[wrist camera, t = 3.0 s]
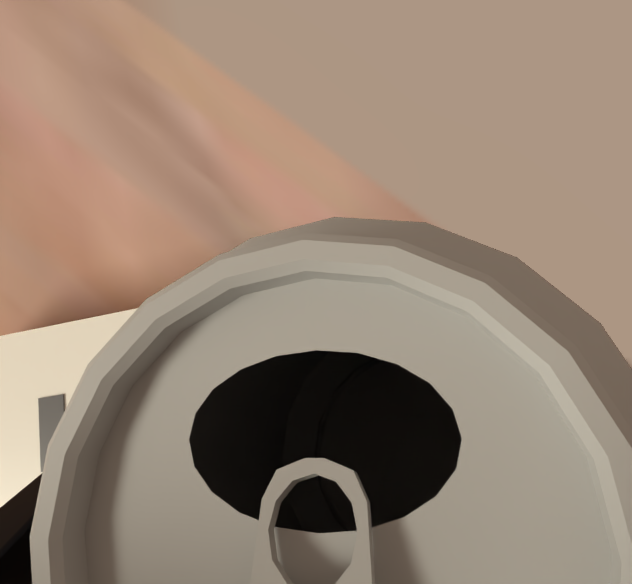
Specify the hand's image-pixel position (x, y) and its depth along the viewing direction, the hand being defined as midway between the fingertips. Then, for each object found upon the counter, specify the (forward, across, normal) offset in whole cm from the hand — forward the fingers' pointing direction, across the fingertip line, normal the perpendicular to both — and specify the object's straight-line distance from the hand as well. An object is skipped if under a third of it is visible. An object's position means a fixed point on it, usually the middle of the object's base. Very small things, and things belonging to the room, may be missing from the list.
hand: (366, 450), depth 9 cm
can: (+5, 0, +6) cm, 8 cm away
